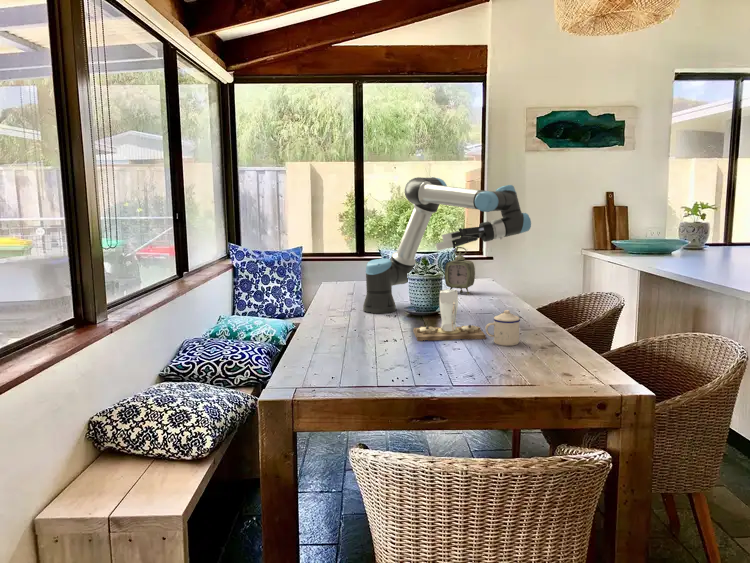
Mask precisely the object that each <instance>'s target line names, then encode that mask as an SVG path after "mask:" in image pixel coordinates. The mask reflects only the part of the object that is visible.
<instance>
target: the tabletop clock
mask: <svg viewBox="0 0 750 563" xmlns="http://www.w3.org/2000/svg"><path fill="white" fill-rule="evenodd" d="M457 249H462V250H465V252H464V253H462V252H461V251H459V252H458V253H457V252H456V250H457ZM453 252H454V255H457V256H456V257H455V258H454V260H451V261H448V262H446V264H445V267H444V283H445V286H446V287H448V288H450V289H451V290H453V289H460V290H459V293H460V294H461V293H463V292H464V291H463V289H466V294H467V295H470V294H471V293H470V292H471V291H469V289H468V288H469V287H472V286H473V285H474V283H475V279H476V278H475V277H476V268H475V264H474V262H473V261H471V260H467V259H466V258H465V256H464V255H466V254H467V249H466V248H465V247H464V246H457V247H455V248H454V250H453Z"/></svg>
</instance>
